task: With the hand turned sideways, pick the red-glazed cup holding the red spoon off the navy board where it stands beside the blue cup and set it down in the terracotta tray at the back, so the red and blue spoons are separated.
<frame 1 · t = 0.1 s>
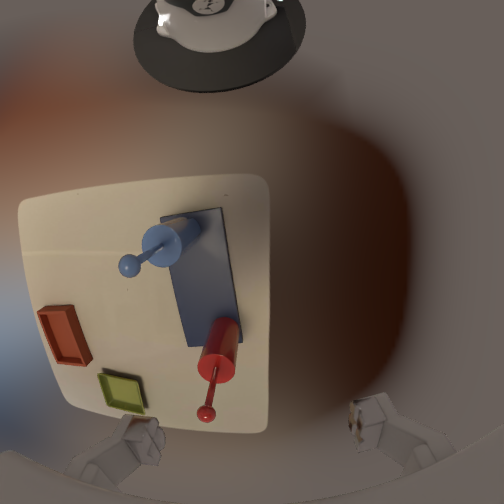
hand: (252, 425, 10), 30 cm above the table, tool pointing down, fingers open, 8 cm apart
blue spoon cup: (185, 232, 37), point 1 cm above the table, touching navy board
saucer: (125, 388, 45), on the table
red spoon cup: (224, 330, 40), point 1 cm above the table, touching navy board
red tray: (67, 333, 42), on the table
navy board: (203, 281, 40), on the table
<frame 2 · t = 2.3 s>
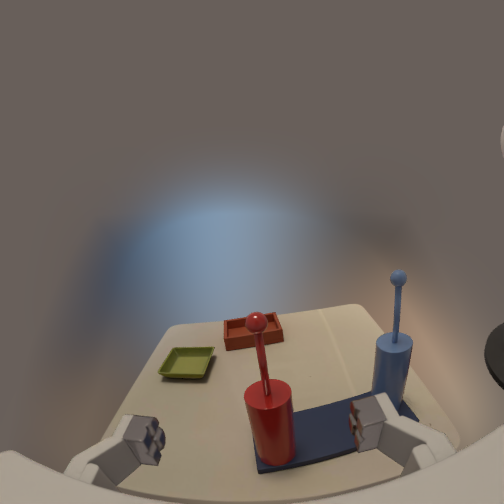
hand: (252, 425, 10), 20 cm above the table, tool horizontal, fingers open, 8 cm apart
blue spoon cup: (385, 403, 29), point 1 cm above the table, touching navy board
saucer: (189, 369, 47), on the table
red spoon cup: (277, 451, 26), point 1 cm above the table, touching navy board
red tray: (253, 336, 56), on the table
navy board: (334, 430, 28), on the table
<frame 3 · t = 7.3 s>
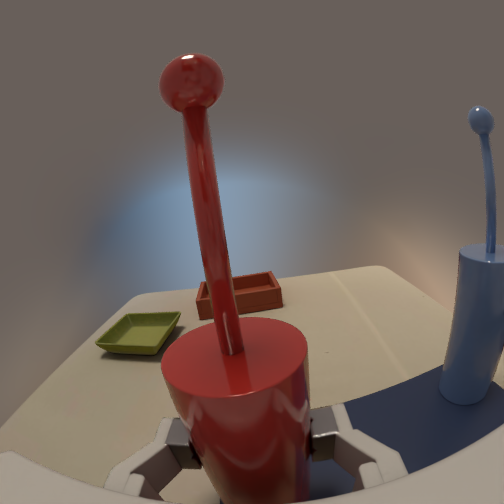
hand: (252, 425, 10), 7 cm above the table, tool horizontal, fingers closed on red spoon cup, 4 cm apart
blue spoon cup: (464, 385, 14), point 1 cm above the table, touching navy board
saucer: (143, 343, 31), on the table
red spoon cup: (267, 496, 10), point 1 cm above the table, touching gripper, navy board
red tray: (239, 302, 41), on the table
navy board: (383, 445, 13), on the table
when the fingers open (6 cm above the table, at t = 16.7 s): red spoon cup stays where it is, resting on red tray.
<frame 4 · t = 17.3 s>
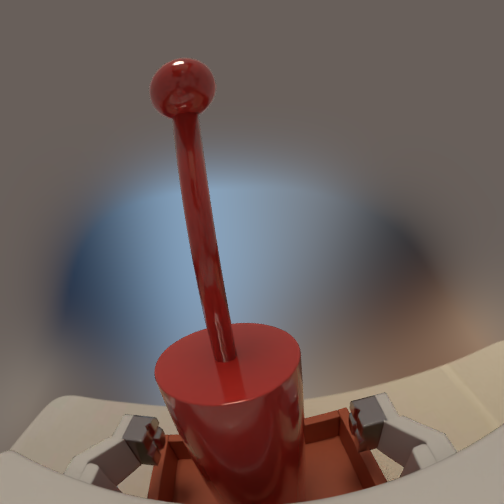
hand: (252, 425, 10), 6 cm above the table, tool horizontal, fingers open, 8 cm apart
red spoon cup: (263, 499, 10), point 1 cm above the table, touching red tray
red tray: (266, 503, 10), on the table
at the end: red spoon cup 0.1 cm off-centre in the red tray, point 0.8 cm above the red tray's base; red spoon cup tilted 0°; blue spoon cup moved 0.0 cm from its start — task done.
